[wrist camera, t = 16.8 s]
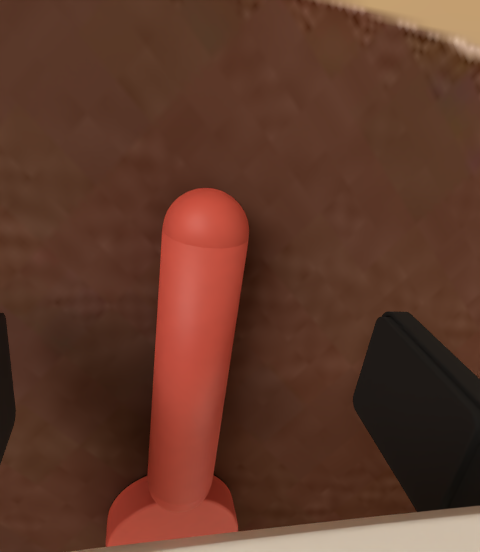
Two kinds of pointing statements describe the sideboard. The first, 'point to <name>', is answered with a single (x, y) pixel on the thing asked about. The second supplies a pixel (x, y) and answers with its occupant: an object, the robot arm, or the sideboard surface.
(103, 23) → the sideboard surface
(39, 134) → the sideboard surface
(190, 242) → the red spoon
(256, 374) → the sideboard surface
